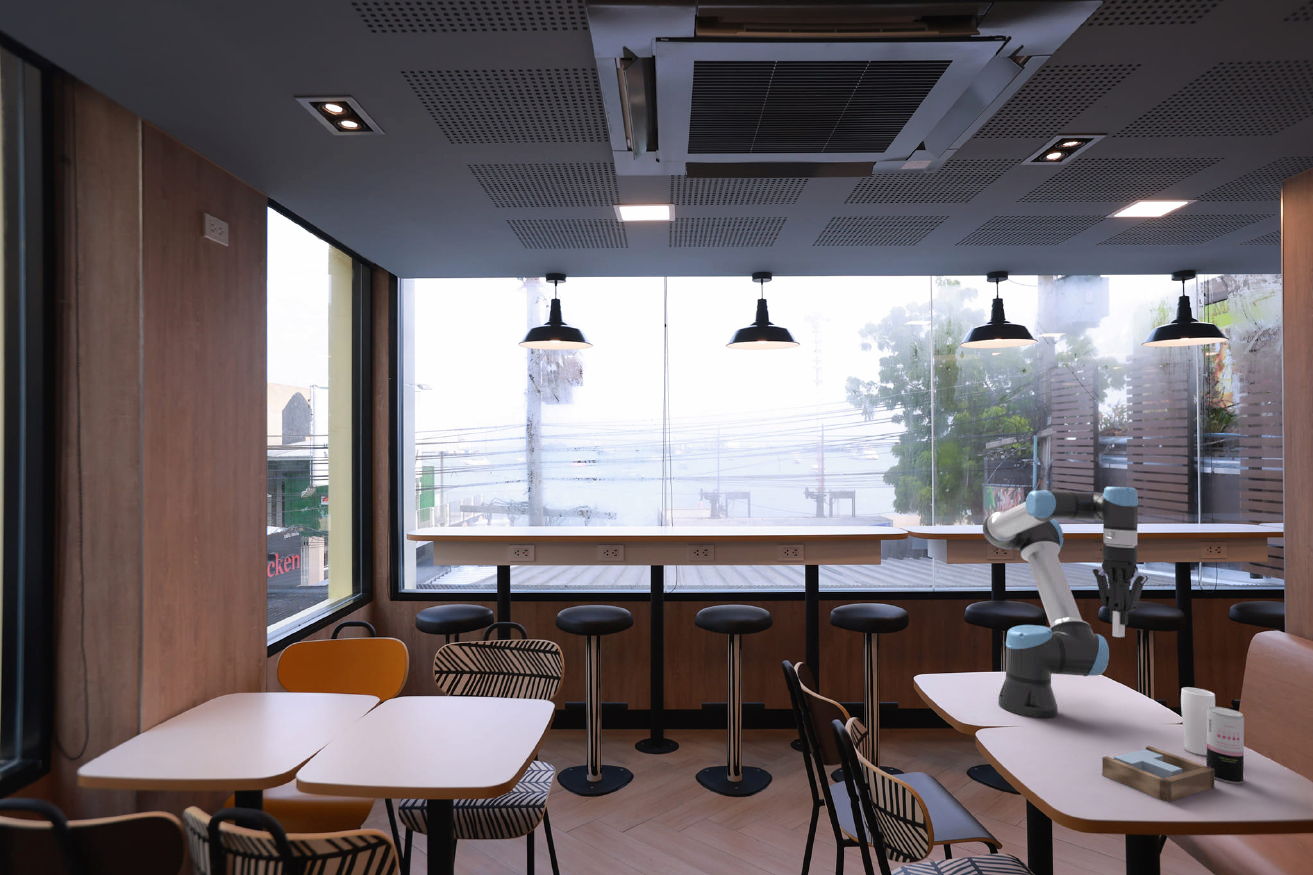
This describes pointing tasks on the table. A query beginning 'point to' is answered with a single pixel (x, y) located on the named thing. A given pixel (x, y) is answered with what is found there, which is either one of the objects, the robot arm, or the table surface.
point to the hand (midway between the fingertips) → (1118, 636)
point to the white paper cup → (1195, 718)
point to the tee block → (1149, 763)
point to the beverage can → (1225, 744)
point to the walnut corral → (1162, 788)
